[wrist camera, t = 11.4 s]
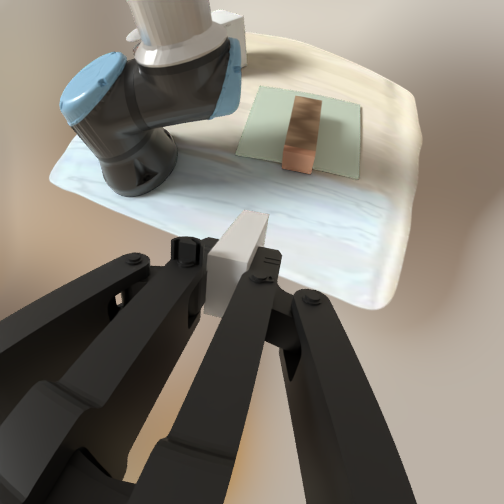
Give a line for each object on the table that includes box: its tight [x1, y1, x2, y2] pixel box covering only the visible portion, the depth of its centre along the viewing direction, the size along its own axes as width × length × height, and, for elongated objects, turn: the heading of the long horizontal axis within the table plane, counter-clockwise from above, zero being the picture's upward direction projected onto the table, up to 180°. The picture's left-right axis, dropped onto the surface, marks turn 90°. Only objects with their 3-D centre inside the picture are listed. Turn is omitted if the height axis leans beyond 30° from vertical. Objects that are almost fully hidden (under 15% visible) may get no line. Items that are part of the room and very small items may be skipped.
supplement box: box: [211, 9, 247, 68], centre depth 49 cm, size 9×9×15 cm
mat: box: [236, 86, 360, 180], centre depth 48 cm, size 22×20×1 cm
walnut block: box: [282, 96, 322, 174], centre depth 45 cm, size 5×5×14 cm
